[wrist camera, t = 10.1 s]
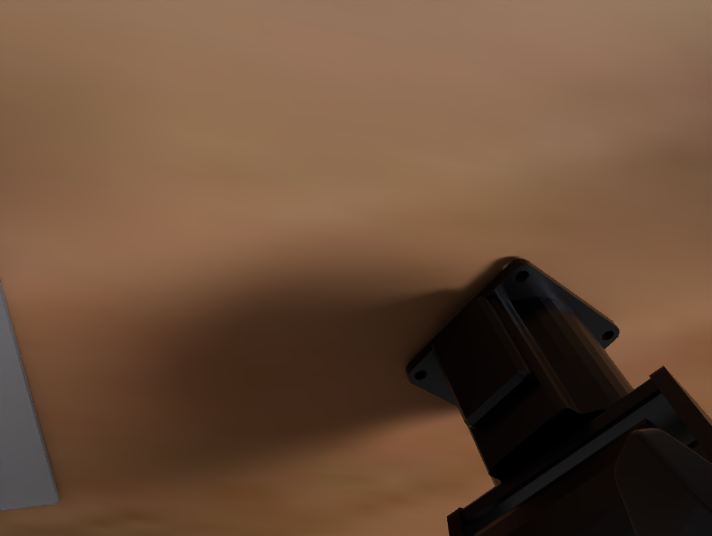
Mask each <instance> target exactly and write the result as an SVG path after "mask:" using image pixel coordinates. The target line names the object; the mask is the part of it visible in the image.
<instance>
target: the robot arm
mask: <svg viewBox="0 0 712 536" xmlns="http://www.w3.org/2000/svg"><path fill="white" fill-rule="evenodd" d="M521 271H524V272H523V273H522V274H520V275H518V276H516V275H517V274H518V273H519V272H521ZM618 335H619V329H618V327H617V326H616V325H615V324H614V322H613V321H612V320H610V319H609V318H608V317H606V316H605V315H603V314H602V313H601V312H599V311H598V310H596V309H595V308H594V307H592V306H591V305H589V304H588V303H587V302H585V301H584V300H582V299H581V298H580V297H578V296H577V295H575V294H574V293H573V292H571V291H570V290H568V289H567V288H565V287H564V286H563V285H561V284H560V283H558V282H557V281H556V280H554V279H553V278H551V277H550V276H549V275H547V274H546V273H544V272H543V271H542V270H540V269H539V268H537V267H536V266H535V265H533V264H532V263H530V262H529V261H527V260H525V259H518V260H515V261H513V262H511V263H510V264H509V265H508V266H507V267H506V268H505V269H504V270H503V271H502V272H501V273H500V274H499V275H498V276H497V277H496V278H495V279H494V280H493V281H492V282H491V283H490V284H489V285H488V286H487V287H486V288H485V289H484V290H483V291H481V292H480V293H479V294H478V295H477V296H476V297H475V298H474V299H473V300H472V301H471V302H470V303H469V304H468V305H467V306H466V307H465V308H464V309H463V310H462V311H461V312H460V313H459V314H458V315H457V316H456V317H455V318H454V319H453V320H452V321H451V322H450V323H449V324H448V325H447V326H446V327H445V328H444V329H443V330H442V331H441V332H440V333H439V334H438V335H437V336H436V337H435V338H434V339H433V340H432V341H431V342H430V343H429V344H428V345H427V346H426V347H425V348H424V349H423V350H422V351H421V352H420V353H419V354H418V355H417V356H416V357H415V358H414V359H413V360H412V361H411V362H410V363H409V364H408V365H407V366H406V370H405V371H406V374H407V376H408V379H409V381H410V382H411V383H412V384H414V385H416V386H418V387H420V388H422V389H424V390H426V391H428V392H431V393H433V394H435V395H437V396H439V397H441V398H443V399H445V400H447V401H449V402H451V403H453V404H455V405H457V406H458V408H459V411H460V413H461V415H462V417H463V420H464V422H465V423H466V425H467V426H468V428H469V431H470V433H471V435H472V437H473V440H474V442H475V444H476V446H477V449H478V451H479V453H480V455H481V458H482V460H483V462H484V464H485V467H486V469H487V471H488V473H489V475H490V476H491V478H492V480H493V483H494V485H495V487H493V488H492V489H491V490H489V491H488V492H486V493H485V494H483V495H482V496H480V497H479V498H478V499H476V500H475V501H473V502H472V503H470V504H469V505H467V506H466V507H465V508H461V507H460V508H458V509H457V510H455V511H454V512H453V513H451V514H450V515H448V516H447V521H448V529H449V536H712V420H711V418H710V417H709V416H708V415H707V414H706V413H705V412H704V411H703V409H702V408H701V407H700V406H699V405H698V404H697V403H696V402H695V400H694V399H693V398H692V397H691V396H690V395H689V394H688V393H687V391H686V390H685V389H684V388H683V387H682V386H681V385H680V384H679V383H678V381H677V380H676V379H675V378H674V377H673V376H672V375H671V374H670V372H669V371H668V370H667V369H666V368H665V367H664V366H662V367H661V368H660V369H658V370H657V371H655V372H654V373H652V374H651V375H649V376H650V379H649V380H648V381H646V382H645V383H643V384H642V385H640V386H639V387H637V388H636V389H635V390H634V389H633V388H632V386H631V385H630V384H629V382H628V381H627V380H626V378H625V377H624V376H623V374H622V373H621V372H620V370H619V369H618V368H617V366H616V365H615V364H614V362H613V361H612V359H611V358H610V357H609V355H608V354H607V353H606V351H605V350H604V349H605V348H606V347H608V346H609V345H610V344H611V343H612V342H613V341H615V339H616V338H617V337H618ZM420 370H422V371H421V372H418V371H420ZM416 372H418V373H416Z"/></svg>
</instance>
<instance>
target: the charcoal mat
mask: <svg viewBox="0 0 712 536" xmlns="http://www.w3.org/2000/svg"><path fill="white" fill-rule="evenodd" d="M58 503H59V494H58V491H57V487H56V483H55V480H54V476H53V472H52V469H51V465H50V461H49V458H48V454H47V450H46V447H45V443H44V439H43V436H42V432H41V428H40V425H39V421H38V417H37V414H36V410H35V406H34V403H33V399H32V395H31V392H30V388H29V385H28V381H27V377H26V374H25V370H24V366H23V363H22V359H21V355H20V352H19V348H18V344H17V341H16V337H15V333H14V330H13V326H12V322H11V319H10V315H9V311H8V308H7V304H6V300H5V297H4V293H3V289H2V286H1V282H0V511H3V510H11V509H20V508H28V507H36V506H44V505H52V504H58Z"/></svg>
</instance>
